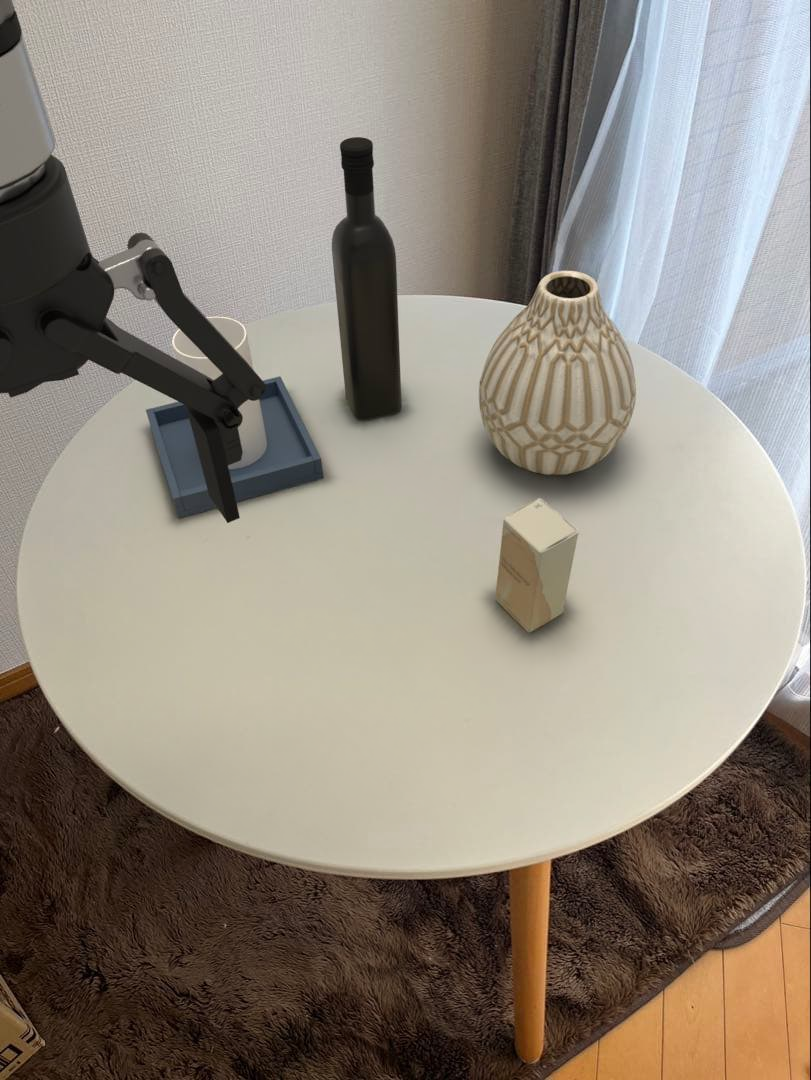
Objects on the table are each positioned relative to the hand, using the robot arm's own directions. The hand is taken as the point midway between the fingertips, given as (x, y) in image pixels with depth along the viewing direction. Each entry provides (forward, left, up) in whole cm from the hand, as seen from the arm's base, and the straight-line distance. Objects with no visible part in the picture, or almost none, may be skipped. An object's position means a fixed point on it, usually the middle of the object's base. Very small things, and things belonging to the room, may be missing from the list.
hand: (110, 554), depth 49 cm
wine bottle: (+29, +42, -29) cm, 59 cm away
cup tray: (+12, +40, -29) cm, 51 cm away
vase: (+44, +27, -29) cm, 59 cm away
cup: (+12, +40, -28) cm, 50 cm away
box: (+32, +8, -29) cm, 44 cm away
